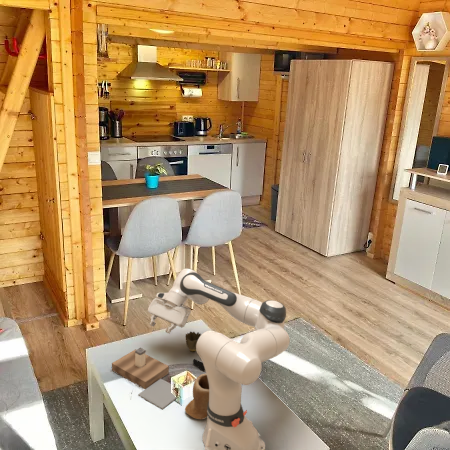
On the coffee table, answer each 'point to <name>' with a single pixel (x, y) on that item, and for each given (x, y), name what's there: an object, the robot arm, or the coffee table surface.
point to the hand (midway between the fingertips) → (159, 329)
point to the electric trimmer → (199, 364)
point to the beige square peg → (140, 357)
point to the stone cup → (199, 398)
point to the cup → (192, 340)
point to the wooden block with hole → (140, 370)
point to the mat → (159, 394)
